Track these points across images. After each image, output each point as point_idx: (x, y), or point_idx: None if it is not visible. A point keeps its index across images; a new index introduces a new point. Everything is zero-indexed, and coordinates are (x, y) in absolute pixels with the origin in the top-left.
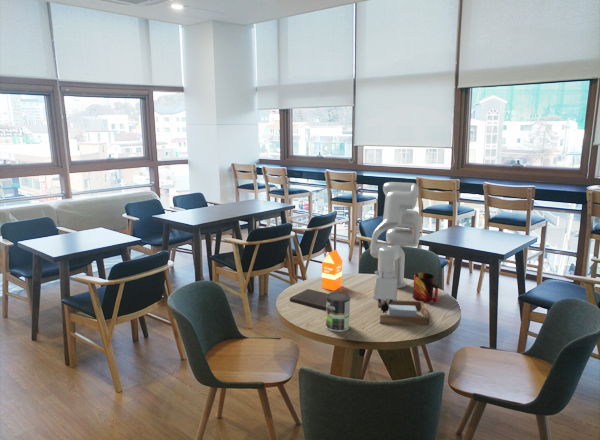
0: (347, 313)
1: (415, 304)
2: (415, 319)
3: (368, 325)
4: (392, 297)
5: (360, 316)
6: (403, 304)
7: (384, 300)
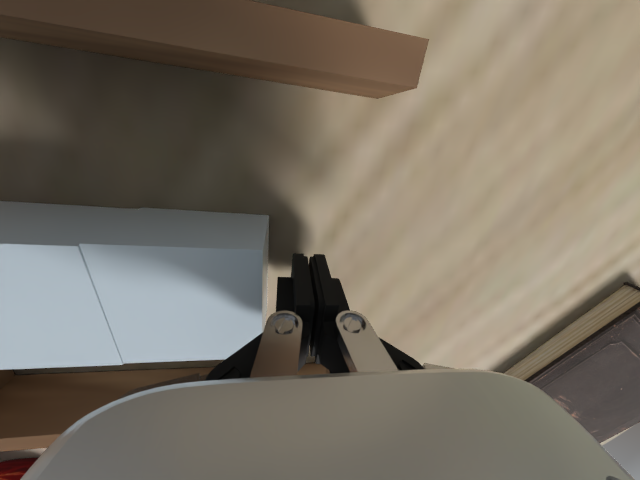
0: None
1: (23, 411)
2: None
3: (517, 2)
4: (163, 439)
5: (488, 222)
6: None
7: None
